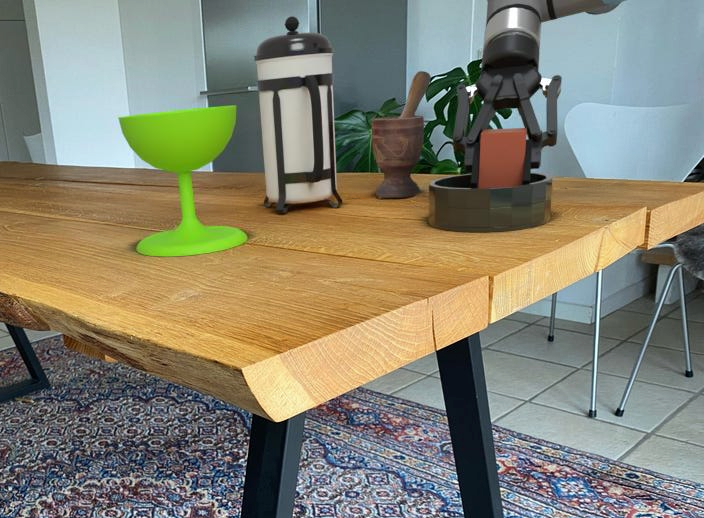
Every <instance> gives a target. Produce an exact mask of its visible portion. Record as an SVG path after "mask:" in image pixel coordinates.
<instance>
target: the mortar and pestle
mask: <svg viewBox="0 0 704 518" xmlns="http://www.w3.org/2000/svg"><path fill="white" fill-rule="evenodd" d="M431 79H432V77H431V75H430V73H429V72H427V71H423V70H419V71H418V72H416V73H415V75H414V76H413V78H412V80H411V84H410V86H409V91H408V94H407V98H406V100H405V103H404V106H403V110H402V113H401V114H400V115H398V116H396V115H395V116H384V117H378V118H371V119H370V122H371V135H372V136H371V145H372V153H373V157H374V159H375V163H376V165H377V166H378V168H379V169H380V170H381V171H382V173H383V180H382V182H381V184H378V185H377V187H376V191H375V196H376V198H377V199H379V200H381V199H401V198H409V197H415V196H416V195H418V194H420V192H421V190H420V186H419V185H418V184H417V182H415V181H414V180H413V178H412V176H411V175H412V171H413V170H414V168H415V167H416V166H417V165H418V163H419V162H420V160H421V159H420V158H421V155H422V152H423V147H424V138H425V137H424V130H425V120H424V118H425V117H424V116H423V115H416V111H417V110H418V107H419V105H420V103H421V101H422V99H423V98H424V96H425V95H426V93H427V90H428V88H429V87H430V82H431Z"/></svg>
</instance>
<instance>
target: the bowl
mask: <svg viewBox="0 0 704 518" xmlns="http://www.w3.org/2000/svg"><path fill="white" fill-rule="evenodd" d="M471 174H472V173H466V174H458V175H451V176H445V177H441V178H437V179H434V180H432V181H431V180H430V181H429V183H428V221H429V225H430V226H431V227H432V228H434V229H438V230H442V231H449V232H459V233H498V232H499V233H501V232H511V231H521V230H525V229H530V228H535V227H539V226H543V225H545V224H547V223H548V222H549V221H550V219H551V214H552V213H551V212H552V194H553V177H552V175H551V174H548V173H547V174H546V173H543V172H533V171H531V174H530V184H524V185H516V186H507V187H494V188H471Z"/></svg>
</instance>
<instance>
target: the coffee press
mask: <svg viewBox="0 0 704 518" xmlns="http://www.w3.org/2000/svg"><path fill="white" fill-rule="evenodd" d="M299 26H300V22H299V19H298V17H296V16H292V15H291V16H288V18H287V19H286V20H285V22H284V27H285V29H286V30H287V32H286V34H281V35H276V36H272V37H271V36H270V37H268V38H266V39H264V40H263V41H261V42H260V43H259V44H258V46H257V48H256V55H253V61H254V62H255V65H256V70H257V80H256V89H257V92H258V99H259V111H260V125H261V138H262V152H263V165H264V166H263V167H264V180H265V191H266V196H265V198H264V200H263V205H264V207H265V208H270V207H273V206H275V205H276V207H275V208H276V209H275V212H276V214H277V215H287V214H288V211H289V209H290V207H291V206H292V205H294V204H307V203H314V202H326V203H328V204H329V205H330V206H331V208H333V209H337V208H340V207H342V205H343V203H344V202H343V199H342V197H341V196H340V194H339V192H338V191H337V186H338V185H337V157H336V156H337V155H336V154H337V153H336V134H335V133H336V131H335V108H334V107H335V105H334V87H333V86H334V84H335V74H334V72H333V56H334V53H335V48H334V47H333V46H331V45H332V44H331V42H330V40H329V38H328V37H327V36H325V35H324V34H322V33H319V32H299V31H297V30H298V28H299ZM331 197H334V198H335V200H336V201H337V203H338V204H336V202H335V201H333V200H332V199H330V198H331ZM269 201H271V204H270V203H269Z"/></svg>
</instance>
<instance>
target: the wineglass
mask: <svg viewBox="0 0 704 518" xmlns="http://www.w3.org/2000/svg"><path fill="white" fill-rule="evenodd" d="M117 118H118V121H119V125H120V129H121V134H122V135H123V137H124V139H125V141H126V142H127V144H128V146H129V148H130V149H131V150H132V151H133V153H135V154H136V156H137V157H139V158H140V159H141V160H142V161H143V162H144V163H146V164H148V165H150V166H151V167H153V168H155V169H158V170H161V171H165V172H168V173H176V175H177V183H178V191H179V200H180V201H179V202H180V208H181V209H180V210H181V220H180V223H179V225H178V226H177V228H175V229H168V230H164V231H160V232H157V233H153V234H150V235H148V236H146V237H144V238H142V239H141V240H140V241H139V242H138V244H137V245H136V248H135V249H136V252H137V253H138V254H140V255H145V256H150V257H185V256H197V255H203V254H205V255H206V254H210V253H215V252H221V251H226V250H228V249H233V248H236V247H238V246H241V245H243V244H245V243H246V242H247V241H248V235H247V234H246V233H245V232H244V231H243V230H242V229H240V228H237V227H232V226H226V225H204V224H202V223H201V222H200V220H199V219H198V218H197V215H196V214H197V213H196V205H195V198H194V197H195V196H194V187H193V178H192V171H198V170H199V169H201V168H203V167H205V166H207V165H208V164H211V163H212V162H213V161H214V160H215V159H216V158H217V157H219V155H221V154H222V153H223V151H224V150H225V148H226V147H227V146H228V143H229V142H230V140H231V138H232V137H233V132H234V129H235V126H236V122H237V105H221V106H209V107H197V108H186V109H178V110H176V109H175V110H167V111H158V112H150V113H149V112H148V113H140V114H133V115H132V114H131V115H125V116H124V115H123V116H119V117H117Z"/></svg>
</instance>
